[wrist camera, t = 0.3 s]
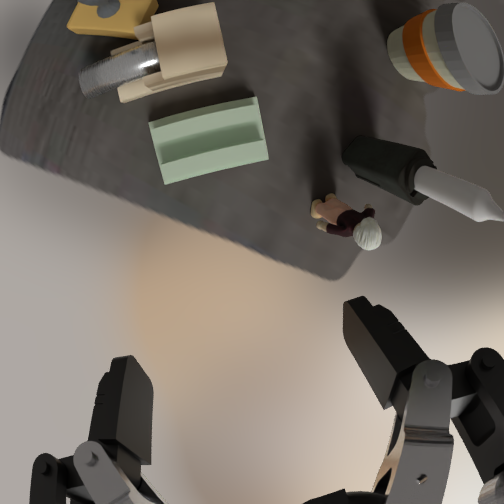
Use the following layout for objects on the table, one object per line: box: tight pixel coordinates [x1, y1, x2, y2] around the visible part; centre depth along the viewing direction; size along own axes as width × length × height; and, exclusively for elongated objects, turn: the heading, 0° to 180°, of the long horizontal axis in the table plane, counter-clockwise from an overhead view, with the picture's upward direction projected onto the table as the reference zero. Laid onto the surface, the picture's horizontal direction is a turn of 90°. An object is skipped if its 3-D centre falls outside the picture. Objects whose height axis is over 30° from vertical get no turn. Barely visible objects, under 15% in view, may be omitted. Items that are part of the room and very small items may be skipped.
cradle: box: [149, 97, 269, 185], centre depth 30 cm, size 8×13×4 cm, turn 101°
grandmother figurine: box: [311, 193, 382, 250], centre depth 33 cm, size 8×4×13 cm, turn 120°
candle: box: [342, 136, 504, 222], centre depth 25 cm, size 5×5×25 cm
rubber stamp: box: [67, 0, 159, 40], centre depth 17 cm, size 10×6×12 cm, turn 70°
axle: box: [79, 41, 161, 99], centre depth 23 cm, size 14×4×4 cm, turn 101°
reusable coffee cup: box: [387, 3, 504, 95], centre depth 23 cm, size 13×13×15 cm
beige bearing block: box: [111, 2, 228, 103], centre depth 23 cm, size 7×12×8 cm, turn 101°
